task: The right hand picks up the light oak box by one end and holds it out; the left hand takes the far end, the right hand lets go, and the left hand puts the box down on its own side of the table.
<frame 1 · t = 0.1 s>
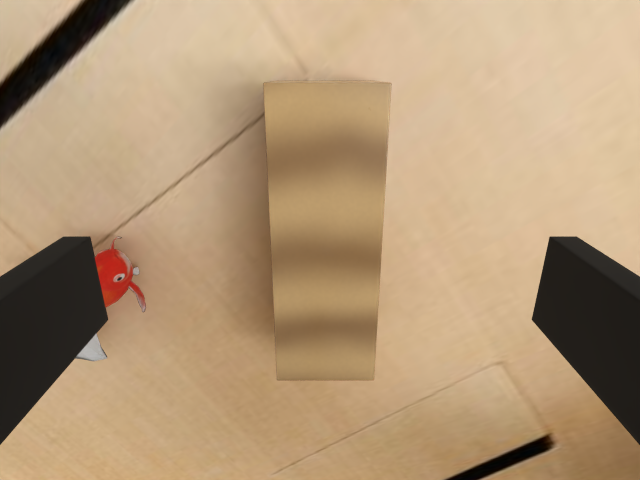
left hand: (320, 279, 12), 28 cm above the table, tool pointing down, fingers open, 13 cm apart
fish: (105, 285, 44), on the table
box: (324, 216, 41), on the table
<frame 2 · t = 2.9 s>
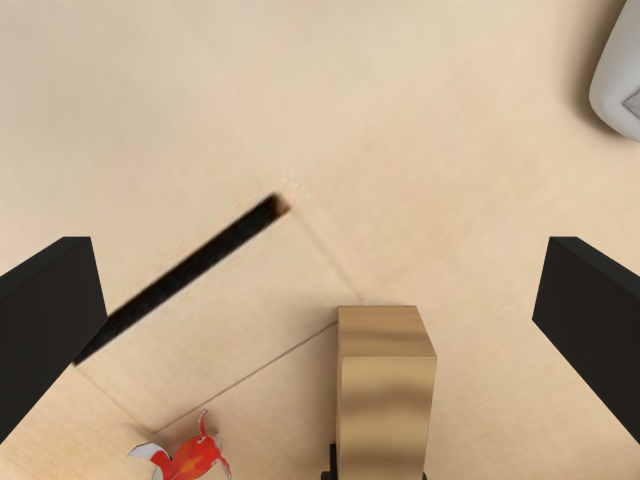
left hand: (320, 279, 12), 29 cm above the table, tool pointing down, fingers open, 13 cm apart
fish: (190, 442, 54), on the table
box: (372, 395, 51), on the table, touching right hand
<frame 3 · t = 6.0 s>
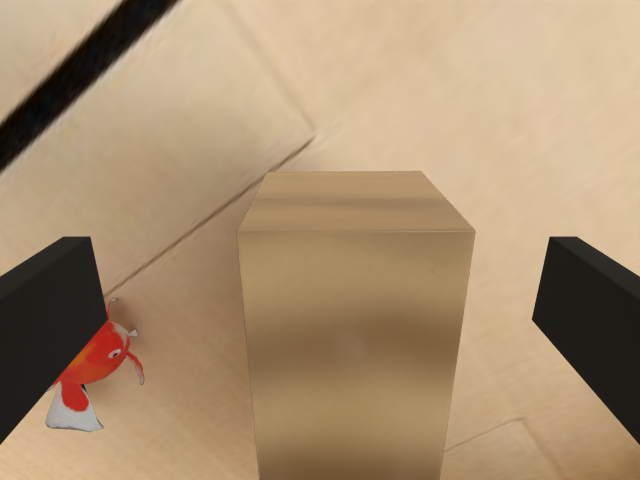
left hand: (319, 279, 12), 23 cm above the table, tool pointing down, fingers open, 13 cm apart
fish: (101, 346, 41), on the table
box: (341, 353, 28), point 11 cm above the table, touching right hand
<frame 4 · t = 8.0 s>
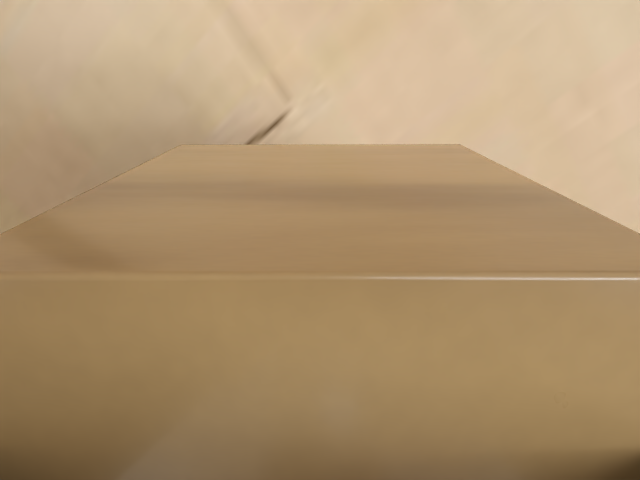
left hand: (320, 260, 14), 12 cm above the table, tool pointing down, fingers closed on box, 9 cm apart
box: (320, 448, 17), point 11 cm above the table, touching left hand, right hand
when the right hand's fingers open (12 cm above the table, at t = 8.9 s): box stays where it is, held by the left hand.
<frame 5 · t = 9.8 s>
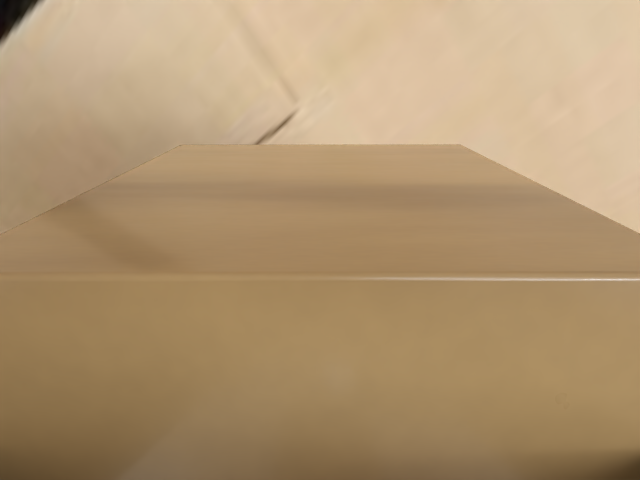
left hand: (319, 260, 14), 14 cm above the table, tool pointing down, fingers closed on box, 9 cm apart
box: (320, 448, 17), point 14 cm above the table, touching left hand
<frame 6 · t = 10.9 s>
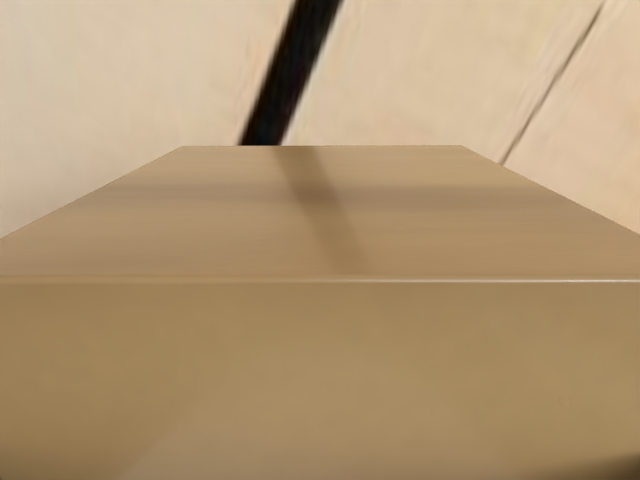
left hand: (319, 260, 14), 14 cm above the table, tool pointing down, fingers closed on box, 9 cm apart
box: (322, 449, 17), point 14 cm above the table, touching left hand
when the left hand's fingers open (2 cm above the table, at t = 14.0 s): box drops 2 cm, on the table.
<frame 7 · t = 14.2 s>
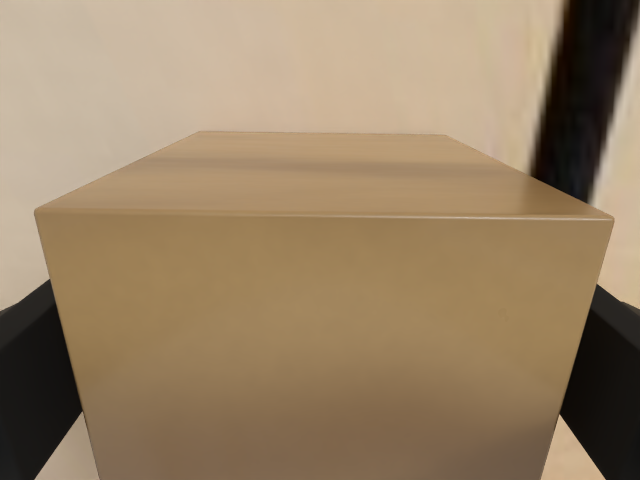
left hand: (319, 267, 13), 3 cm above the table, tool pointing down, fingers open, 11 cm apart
box: (317, 412, 19), on the table
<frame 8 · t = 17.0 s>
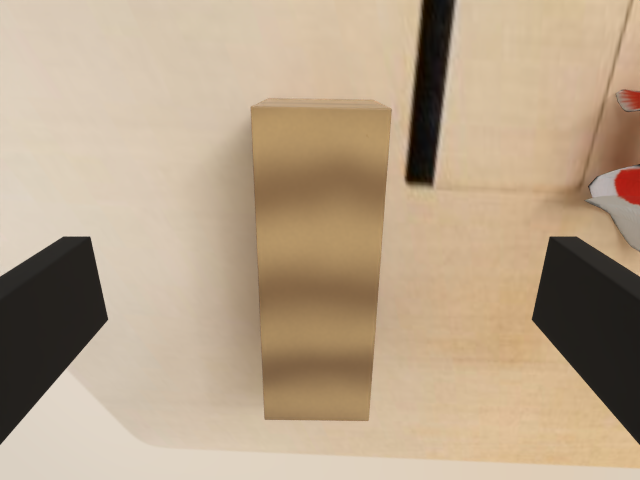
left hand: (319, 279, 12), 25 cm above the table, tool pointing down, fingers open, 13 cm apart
fish: (632, 159, 36), on the table
box: (318, 241, 38), on the table
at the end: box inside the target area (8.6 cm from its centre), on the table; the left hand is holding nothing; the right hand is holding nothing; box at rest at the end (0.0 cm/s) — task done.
